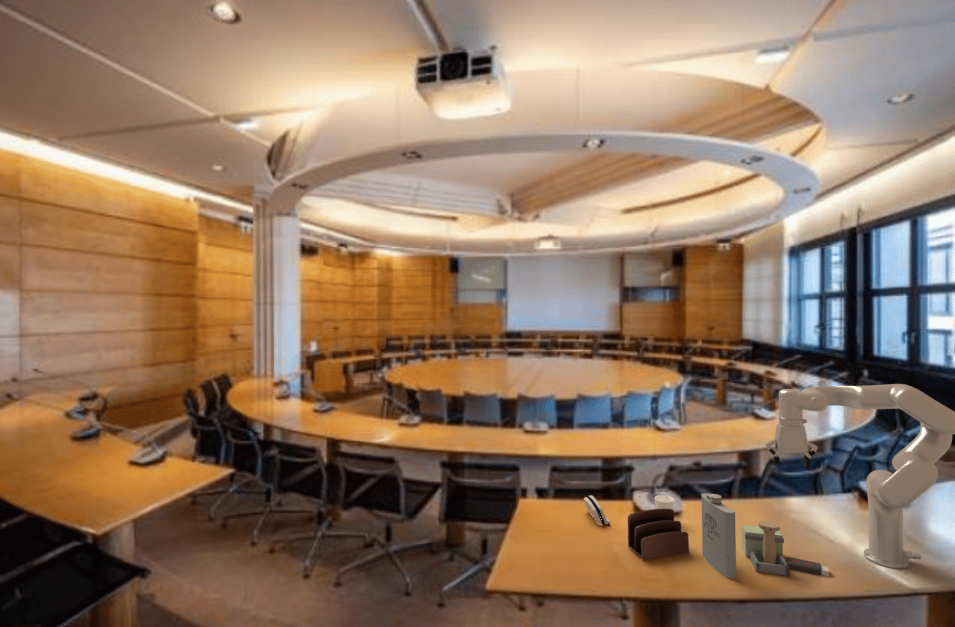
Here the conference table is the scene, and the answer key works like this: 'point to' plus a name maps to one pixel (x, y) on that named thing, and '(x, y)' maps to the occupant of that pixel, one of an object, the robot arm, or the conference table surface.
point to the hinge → (595, 510)
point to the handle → (769, 541)
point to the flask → (718, 535)
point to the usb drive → (807, 566)
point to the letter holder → (656, 534)
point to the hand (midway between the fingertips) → (791, 466)
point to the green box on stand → (754, 550)
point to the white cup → (664, 502)
